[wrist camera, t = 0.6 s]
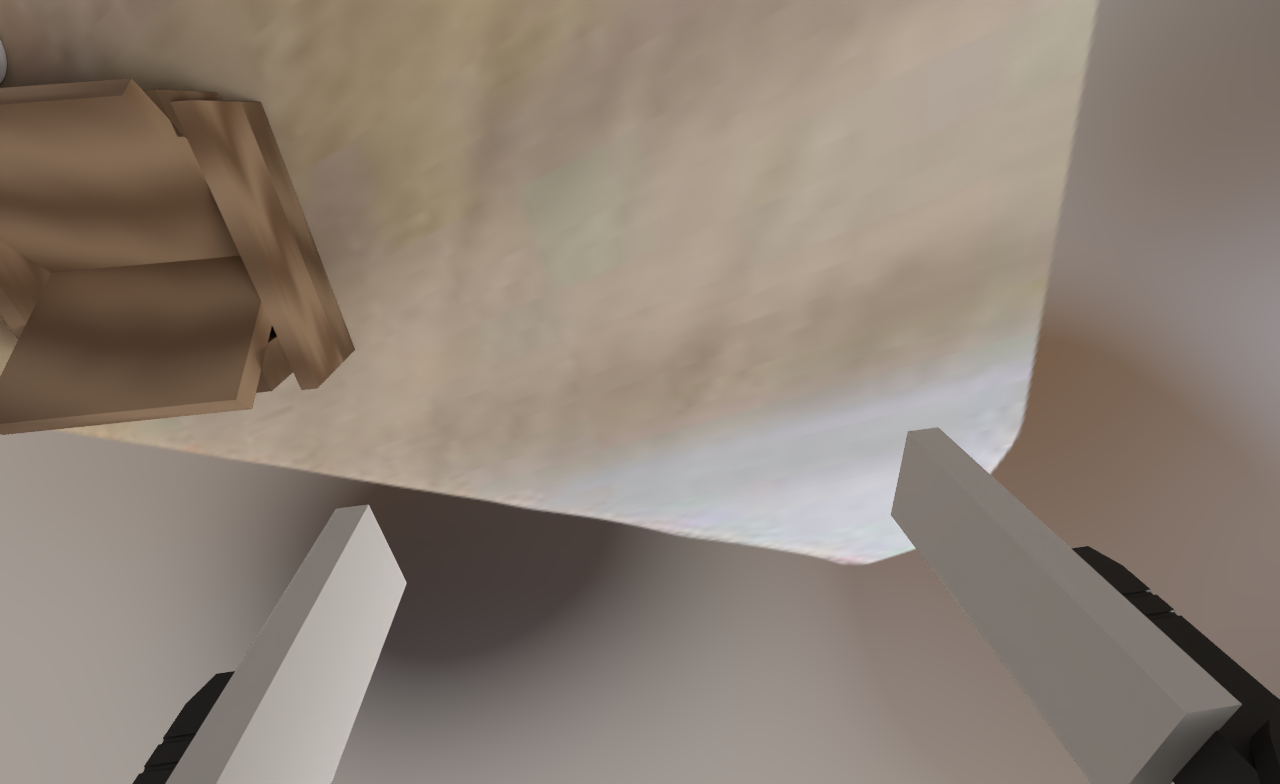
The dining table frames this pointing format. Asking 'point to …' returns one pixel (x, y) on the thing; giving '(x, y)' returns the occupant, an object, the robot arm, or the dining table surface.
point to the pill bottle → (2, 62)
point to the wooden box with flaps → (151, 258)
